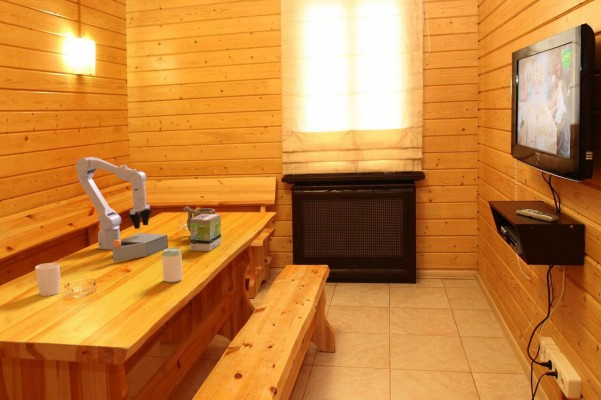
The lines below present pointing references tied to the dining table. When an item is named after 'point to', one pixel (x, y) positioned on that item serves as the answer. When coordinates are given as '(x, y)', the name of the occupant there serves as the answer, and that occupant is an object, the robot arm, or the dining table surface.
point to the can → (172, 265)
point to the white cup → (48, 278)
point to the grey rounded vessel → (197, 213)
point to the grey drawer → (128, 251)
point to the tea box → (205, 232)
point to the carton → (148, 241)
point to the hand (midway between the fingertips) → (141, 226)
